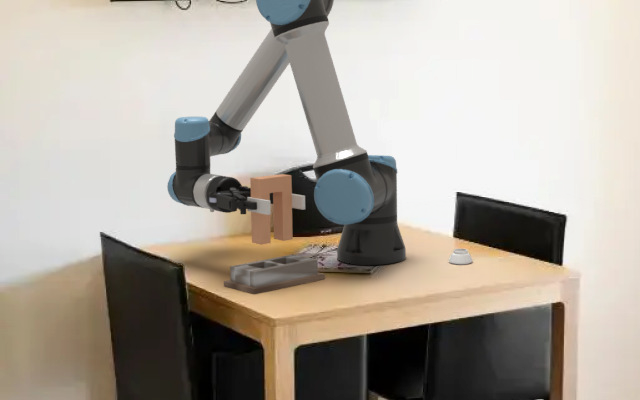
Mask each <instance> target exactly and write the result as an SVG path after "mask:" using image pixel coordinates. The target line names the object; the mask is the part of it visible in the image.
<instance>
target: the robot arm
mask: <svg viewBox="0 0 640 400" xmlns="http://www.w3.org/2000/svg"><path fill="white" fill-rule="evenodd" d="M255 2H256V3H255V4H256V6H257V10H258V12H259V13H260V15H261V16H262V17H263V18H264V19H265V20H266V21H267V22H269V24H270V27H271V28H270V30H269V32H268V33H267V35H266V36H265V38H264V39H263V41H262V42H261V43H260V45H259V46H258V47H257V49H256V51H255V53H254V54H253V56H252V57H251V58H250V60H249V61H248V63H247V64H246V65H245V67H244V69H243V70H242V72H240V75H239V76H238V77H237V79H236V81H235V82H234V83H233V85H232V87H231V88H230V89H229V91H228V92H227V94H226V95H225V97H224V98H223V100H222V101H221V102H220V104H219V106H218V107H217V108H216V111H215V112H214V114H213V115H212V117H211V118H210V119H208V118H207V117H205V116H181V117H178V118H176V120H175V121H174V134H173V137H174V151H175V154H174V155H175V157H174V158H175V171H174V172H173V173H172V174H171V176H170V177H169V178H168V181H167V185H166V187H167V192H168V195H169V197H170V198H171V199H172V200H173V201H174V202H176V203H179V204H182V205H183V206H188V207H189V206H190V207H197V208H201V209H208V210H209V211H210V213H214V212H215V211H216V212H221V213H226V214H227V213H228V214H229V213H235V212H237V211H238V210H239V211H240V213H239V214H240V215H247V212H250V213H251V212H256V213H261V214H266V215H270V216H271V215H272V212H271V210H272V209H271V208H272V207H271V206H272V205H273V193H270V200H264V199H258V198H253V197H251V187H248V186H247V185H242V183H241V182H240V181H239V180H238V179H237V178H235V177H231V176H226V175H220V174H213V173H211V157H213V156H214V157H215V156H220V155H225V154H228V153H230V152H232V151H234V150H235V149H237V148H238V146H239V145H240V143H241V139H242V132H243V131H244V130H245V128H246V126H247V125H248V123H249V122H250V121H251V119H252V118H253V117H254V115H255V113H256V112H257V111H258V109H259V108H260V107H261V105H262V103H263V102H264V101H265V99H266V97H267V96H268V95H269V93H270V92H271V90H272V89H273V88H274V86H275V84H276V83H277V82H278V80H280V78H281V76H282V75H283V73H284V72H285V70H286V69H287V67H288V66H289V65H290V69H291V71H292V74H293V79H294V81H295V85H296V89H297V92H298V94H299V95H298V96H299V99H300V102H301V105H302V109H303V111H304V112H303V113H304V116H305V119H306V122H307V125H308V129H309V132H310V135H311V140H312V142H313V143H312V144H313V145H314V150H315V152H316V160H315V162H314V163H313V165H312V169H313V171H314V175H315V178H316V184H315V186H314V190H313V191H314V192H313V197H314V202H315V206H316V208H317V210H318V212H319V213H320V214H321V215H322V216H323V218H325V219H327V220H328V221H329V222H332V223H334V224H337V225H343V227H342V228H343V229H342V232H341V236H340V238H339V242H338V245H337V249H336V250H337V251H336V254H337V256H336V257H337V260H338V261H339V260H340V261H339V262H341V261H342V262H341V263H344V262H345V263H344V264H349V263H350V265H359V266H360V265H361V266H378V265H379V266H380V265H389V264H396V263H399V262H403V261H404V260H406V258H407V257H406V254H407V252H406V245H405V243H404V239H403V236H402V234H401V231H400V227H399V226H398V189H397V187H398V186H397V184H398V183H397V182H398V181H397V180H398V178H397V176H398V175H397V174H398V169H397V162H396V161H397V160H396V158H395V157H393V155H392V156H391V155H380V154H379V155H378V154H375V155H374V154H371V155H370V154H368V151H367V149H364V148H363V147H361V146H359V145H358V144H357V143H358V142H357V139H356V136H355V132H354V130H353V126H352V123H351V119H350V115H349V111H348V109H347V105H346V101H345V98H344V95H343V92H342V88H341V85H340V81H339V79H338V75H337V72H336V69H335V65H334V62H333V58H332V54H331V51H330V48H329V43H328V41H327V37H326V34H325V33H326V30H327V28H328V27H329V24H330V22H329V18H328V17H329V14H330V13H331V11H332V9H333V6H334V0H255ZM292 209H295V210H296V209H297V210H306V195H304V194H303V195H302V194H298V193H297V194H296V193H292Z"/></svg>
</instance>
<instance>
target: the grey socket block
mask: <svg viewBox="0 0 640 400" xmlns="http://www.w3.org/2000/svg"><path fill="white" fill-rule="evenodd" d="M229 267H230V268H229V269H230V279H229V280H223V287H226V288H230V289H234V290H237V291H240V292H241V291H242V292H246V293H250V294H252V295H257V294H260V293H265V292H270V291H275V290H279V289H280V290H281V289H285V288H289V287H294V286H298V285H304V284H308V283H311V282H317V281H322V280H326V276H325V275H326V273H322V272H318V271H319V270H318V267H319V266H318V259H316V258H310V257H305V256H302V255H297V254H293V253H292V254H288V255H282V256H276V257H271V258H268V259H262V260H256V261H251V262H247V263H246V262H245V263H241V264H234V265H231V266H229Z"/></svg>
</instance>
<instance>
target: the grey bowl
mask: <svg viewBox="0 0 640 400" xmlns="http://www.w3.org/2000/svg"><path fill="white" fill-rule="evenodd" d="M452 251H453V252H452V253H450V255H449V256H450V257H449V259H448V262H449V263H450V264H452V265H456V266H457V265H461V266H462V265H469V264H472V263H473V261H474V260H473V258H472V256H471V255H470V252H469V250H468V248H454V249H453V250H452Z"/></svg>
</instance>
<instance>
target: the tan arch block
mask: <svg viewBox="0 0 640 400" xmlns="http://www.w3.org/2000/svg"><path fill="white" fill-rule="evenodd" d="M249 180H250V182H249V183H250V188H251V197H253V198H258V199H264V200H270V193H273V204H272V207H273V239H274V240H278V241H282V242H284V241H289V240H290V241H291V240H293V239H294V238H293V208H292V194H293V186H292V185H293V184H292V175H291V174H283V173H278V174H272V175H271V174H270V175H263V176H255V177H250V179H249ZM250 217H251V218H250V219H251V220H250V221H251V222H250V223H251V243H253V244H256V245H266V244H267V245H268V244H271V242H272V241H271V238H272V237H271V214H270V215H266V214H261V213H256V212H250Z"/></svg>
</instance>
